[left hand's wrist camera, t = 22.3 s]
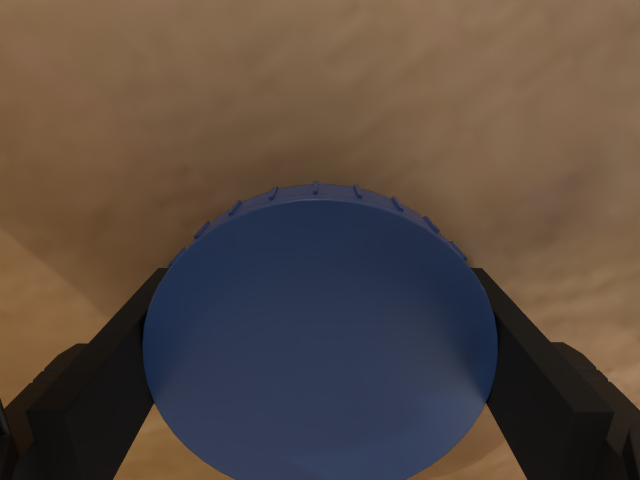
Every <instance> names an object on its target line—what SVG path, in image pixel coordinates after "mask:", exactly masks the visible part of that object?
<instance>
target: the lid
mask: <svg viewBox="0 0 640 480" xmlns="http://www.w3.org/2000/svg"><path fill="white" fill-rule="evenodd" d="M194 238H195V239H194V240H193V241H192V243H191V244H190V245H189V246H188V247H187V248H185V247H184V248H183V249H182V250H181V251H180V252H179V253H178V255H177V256H176V257H175V258H174V259H173V260H172V261H171V262H170V264H169V265H168V266H169V267H170V268H169V270H168V271H167V273H166V274H165V276H164V277H163V279H162V280H161V282H160V284H159V285H158V287H157V289H156V291H155V294H154V295H153V297H152V300H151V303H150V305H149V308H148V312H147V316H146V320H145V324H144V331H143V341H142V353H143V364H144V370H145V375H146V380H147V385H148V388H149V390H150V393H151V395H152V398H153V401H154V403H155V405H156V407H157V408H158V410H159V412H160V414H161V416H162V417H163V419H164V421H165V422H166V423H167V425H168V426H169V427H170V429H171V430H172V431H173V433H174V434H175V435H176V436H177V437H178V438H179V440H180V441H181V442H182V443H183V444H184V445H185V446H186V447H187V448H188V449H189V450H191V451H192V452H193V453H194V454H195V455H197V456H198V457H199V458H200V459H202V460H203V461H204V462H206V463H207V464H209V465H210V466H212V467H213V468H215V469H216V470H218V471H220V472H221V473H223V474H225V475H227V476H229V477H231V478H233V479H235V480H405V479H407V478H409V477H412V476H414V475H415V474H417V473H419V472H421V471H422V470H424V469H426V468H428V467H429V466H431V465H432V464H433V463H435V462H436V461H437V460H439V459H440V458H442V457H443V456H444V455H445V454H447V453H448V452H449V451H450V450H451V449H452V448H453V447H454V446H455V445H456V444H457V443H459V441H460V440H461V439H462V438H463V437H464V436H465V434H466V433H467V432H468V431H469V430H470V428H471V427H472V426H473V424H474V423H475V421H476V420H477V418H478V416H479V415H480V413H481V412H482V410H483V408H484V406H485V403H486V401H487V399H488V397H489V395H490V392H491V389H492V385H493V382H494V378H495V372H496V367H497V360H498V334H497V329H496V323H495V317H494V314H493V311H492V308H491V305H490V302H489V299H488V297H487V295H486V293H485V292H486V291H485V288H484V287H483V286H482V285H481V283H480V282H479V280H478V278H477V276H476V275H475V274H474V272H473V271H472V270H471V268H470V267H469V266H468V264H467V263H466V262H465V261H466V260H467V258H466V257H465V255H464V254H463V253H462V252H461V251H460V250H459V249H458V248H457V246H456V245H455V244H454V243H453V242H452V241H451V242H450V243H449V242H448V241H447V239H446V238H445V237H444V236H443V235H442V234H441V233H440V231H439V229H438V228H437V227H436V226H435V225H434V224H433V223H432V221H431V220H430V219H429V218H428V217H427V216H425V217H424V218H423V217H421V216H420V215H419V214H417V213H416V212H414V211H413V210H412V209H410V208H408V207H406V206H404V205H402V204H400V203H399V201H398V200H397V199H396V198H395V197H392V198H391V199H390V198H388V197H385V196H382V195H380V194H377V193H374V192H372V191H367V190H363V189H360V188H359V186H358V185H354V187H350V186H341V185H330V184H318V181H314V184H313V185H299V186H292V187H286V188H280V189H278V187H277V186H276V187H274V188H273V190H272V191H270V192H267V193H263V194H260V195H257V196H255V197H253V198H250V199H248V200H246V201H244V202H241V201H240V200H239V201H237V202H236V203H235V205H234V206H233V207H232V208H231V209H229V210H228V211H226V212H225V213H223V214H221V215H220V216H218V217H217V218H216V219H215V220H214V221H213V222H211V223H210V222H209V221H207V222H206V223H205V224H204V226H203V227H202V228H201V229H200V230H199V231H198V232H197V233H196V235H195V236H194Z"/></svg>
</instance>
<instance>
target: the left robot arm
mask: <svg viewBox="0 0 640 480" xmlns="http://www.w3.org/2000/svg"><path fill="white" fill-rule="evenodd" d="M168 270H169V268H158V269H157V270H156V271H155V272H154V273H153V275H152V276H151V277H150V278H149V279H148V280H147V281H146V282H145V283H144V284H143V285H142V286H141V287H140V289H139V290H138V291H137V292H136V293H135V294H134V295H133V296H132V297H131V298H130V299H129V300H128V301H127V303H126V304H125V305H124V306H123V307H122V308H121V309H120V310H119V311H118V312H117V313H116V314H115V315H114V317H113V318H112V319H111V320H110V321H109V322H108V323H107V324H106V325H105V326H104V327H103V328H102V329H101V331H100V332H99V333H98V334H97V335H96V336H95V337H94V338H93V339H92V340H91V341H90V342H89V344H76V345H74V346H72V347H71V348H69V349H67V350H66V351H64V352H62V353H61V354H59V355H58V356H57V357H56V358H55V359H54V360H53V361H52V362H51V363H50V364H49V365H48V366H47V367H46V368H45V369H44V371H42V372H41V373H40V374H39V375H38V376H37V377H36V378H35V379H34V380H33V383H30V384H29V385H28V386H27V387H26V388H25V389H24V390H23V391H22V392H21V393H20V394H19V395H18V396H17V397H16V398H15V399H14V400H13V401H12V402H11V403H10V404H9V405H8V406H7V407H6V408H5V409H4V408H3V405H2V402H1V399H0V480H113V478H114V477H115V475H116V473H117V471H118V469H119V467H120V465H121V463H122V462H123V460H124V458H125V456H126V454H127V452H128V450H129V449H130V447H131V445H132V443H133V441H134V439H135V437H136V436H137V434H138V432H139V430H140V428H141V426H142V424H143V423H144V421H145V419H146V417H147V415H148V413H149V411H150V409H151V408H152V406H153V404H154V401H153V398H152V395H151V393H150V390H149V388H148V385H147V380H146V375H145V370H144V364H143V353H142V341H143V331H144V324H145V320H146V316H147V312H148V308H149V305H150V303H151V300H152V297H153V295H154V294H155V291H156V289H157V287H158V285H159V284H160V282H161V280H162V279H163V277H164V276H165V274H166V273H167V271H168ZM471 270H472V271H473V272H474V274H475V275H476V276H477V278H478V280H479V282H480V283H481V285H482V286H483V287H484V288H485V291H486V292H485V293H486V295H487V297H488V299H489V302H490V305H491V308H492V311H493V314H494V317H495V323H496V329H497V334H498V360H497V367H496V372H495V378H494V382H493V385H492V389H491V392H490V395H489V397H488V399H487V401H486V404H487V405H488V407H489V409H490V411H491V413H492V415H493V417H494V418H495V420H496V422H497V424H498V426H499V428H500V430H501V431H502V433H503V435H504V437H505V439H506V441H507V443H508V444H509V446H510V448H511V450H512V452H513V454H514V456H515V457H516V459H517V461H518V463H519V465H520V467H521V469H522V471H523V472H524V474H525V476H526V478H527V480H640V410H639V409H638V408H637V407H636V406H635V405H634V404H633V403H632V402H631V401H630V400H629V399H628V398H627V397H626V396H625V395H624V394H623V393H622V392H621V391H620V390H619V389H618V388H617V387H616V386H615V385H614V384H612V383H611V382H608V379H607V378H606V377H605V376H604V375H603V374H602V373H601V372H600V371H599V370H596V367H595V366H594V365H593V364H592V363H591V362H590V361H589V360H588V359H587V358H586V357H585V356H584V355H583V354H582V353H580V352H579V351H577V350H575V349H574V348H572V347H570V346H569V345H567V344H565V343H564V342H550V341H549V340H548V339H547V338H546V337H545V336H544V335H543V334H542V332H541V331H540V330H539V329H538V328H537V327H536V326H535V325H534V324H533V323H532V322H531V321H530V320H529V318H528V317H527V316H526V315H525V314H524V313H523V312H522V311H521V310H520V309H519V308H518V307H517V306H516V304H515V303H514V302H513V301H512V300H511V299H510V298H509V297H508V296H507V295H506V294H505V293H504V292H503V290H502V289H501V288H500V287H499V286H498V285H497V284H496V283H495V282H494V281H493V280H492V279H491V278H490V276H489V275H488V274H487V273H486V272H485V271H484V270H483V269H482V268H471Z"/></svg>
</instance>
